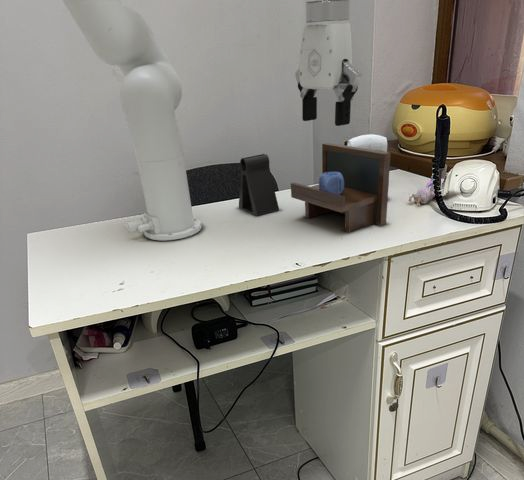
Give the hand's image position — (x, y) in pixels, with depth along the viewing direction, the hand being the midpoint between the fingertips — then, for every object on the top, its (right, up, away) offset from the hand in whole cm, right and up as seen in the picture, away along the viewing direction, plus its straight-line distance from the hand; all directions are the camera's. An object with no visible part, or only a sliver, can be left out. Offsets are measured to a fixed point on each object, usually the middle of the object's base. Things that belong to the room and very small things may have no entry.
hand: (325, 122), depth 94 cm
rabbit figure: (+28, -9, +19) cm, 35 cm away
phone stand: (-13, -10, +22) cm, 28 cm away
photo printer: (+14, -2, +32) cm, 35 cm away
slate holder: (+3, -16, +10) cm, 20 cm away
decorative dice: (+2, -12, +7) cm, 14 cm away
